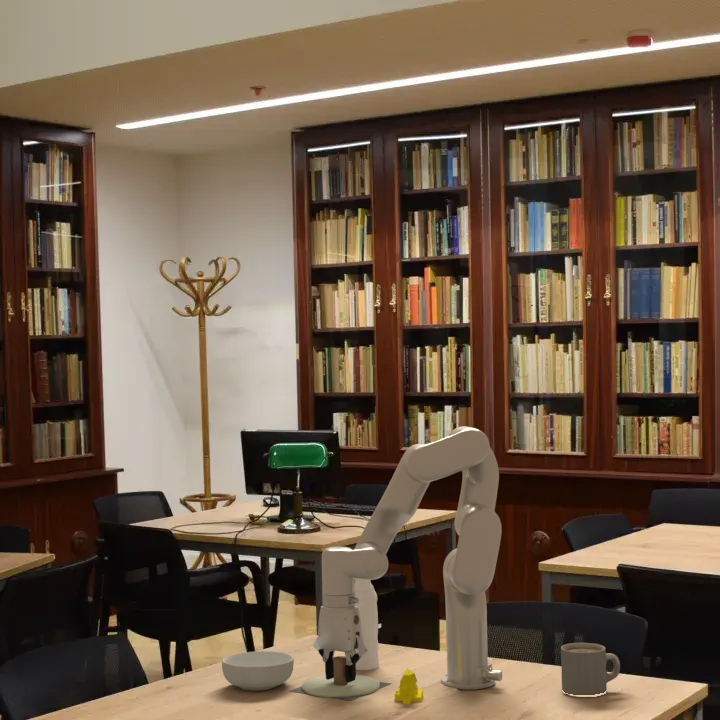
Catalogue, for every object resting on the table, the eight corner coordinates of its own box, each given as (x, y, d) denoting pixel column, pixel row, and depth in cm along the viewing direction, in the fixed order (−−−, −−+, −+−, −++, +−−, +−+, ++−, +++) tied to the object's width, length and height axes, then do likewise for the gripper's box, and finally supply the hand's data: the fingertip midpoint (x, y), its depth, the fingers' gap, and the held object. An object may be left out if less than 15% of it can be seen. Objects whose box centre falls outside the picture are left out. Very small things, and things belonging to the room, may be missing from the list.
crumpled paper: (424, 697, 265) (423, 662, 266) (420, 707, 258) (419, 671, 258) (398, 696, 266) (397, 662, 266) (393, 706, 258) (392, 671, 259)
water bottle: (376, 672, 288) (373, 570, 288) (347, 672, 289) (345, 570, 290) (381, 665, 295) (379, 565, 295) (353, 665, 296) (351, 565, 297)
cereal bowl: (309, 686, 277) (308, 656, 277) (256, 702, 265) (255, 670, 265) (260, 675, 288) (259, 646, 289) (207, 689, 276) (207, 659, 276)
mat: (391, 686, 275) (391, 683, 275) (350, 703, 261) (350, 700, 261) (332, 677, 285) (332, 674, 285) (289, 693, 271) (289, 691, 271)
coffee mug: (565, 698, 261) (564, 653, 262) (559, 686, 271) (557, 643, 272) (626, 697, 261) (625, 652, 261) (617, 685, 271) (616, 642, 271)
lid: (394, 683, 276) (393, 654, 276) (350, 701, 261) (350, 670, 261) (331, 674, 286) (330, 645, 286) (286, 691, 271) (285, 661, 271)
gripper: (378, 601, 272) (380, 680, 272) (318, 595, 281) (320, 671, 281) (360, 606, 266) (362, 688, 265) (299, 600, 275) (301, 678, 275)
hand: (340, 678), depth 273 cm, fingers open, 4 cm apart
